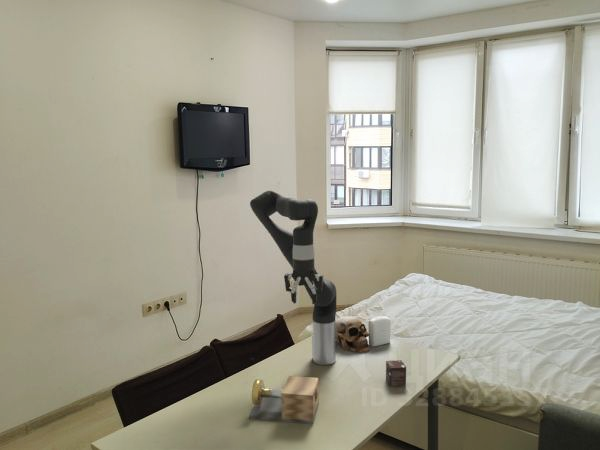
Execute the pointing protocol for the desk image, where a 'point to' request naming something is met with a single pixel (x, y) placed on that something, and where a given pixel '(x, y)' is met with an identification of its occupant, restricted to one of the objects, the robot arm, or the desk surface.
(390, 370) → the box
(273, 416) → the bearing block
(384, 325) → the photo printer
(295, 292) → the robot arm
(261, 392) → the shaft
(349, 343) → the skull
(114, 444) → the desk surface
